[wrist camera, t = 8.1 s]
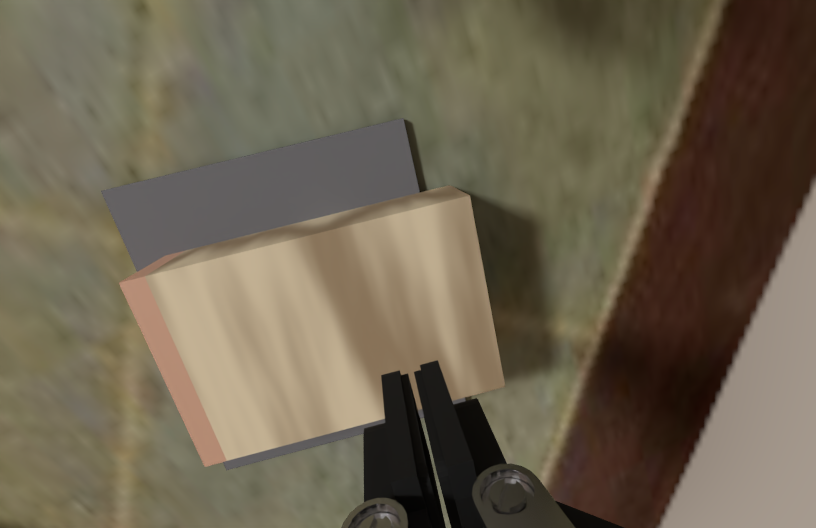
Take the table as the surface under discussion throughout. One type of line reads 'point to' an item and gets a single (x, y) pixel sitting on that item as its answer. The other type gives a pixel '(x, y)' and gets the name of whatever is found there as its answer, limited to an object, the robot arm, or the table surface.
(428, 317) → the maple block
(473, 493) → the robot arm
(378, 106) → the table surface
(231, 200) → the mat
